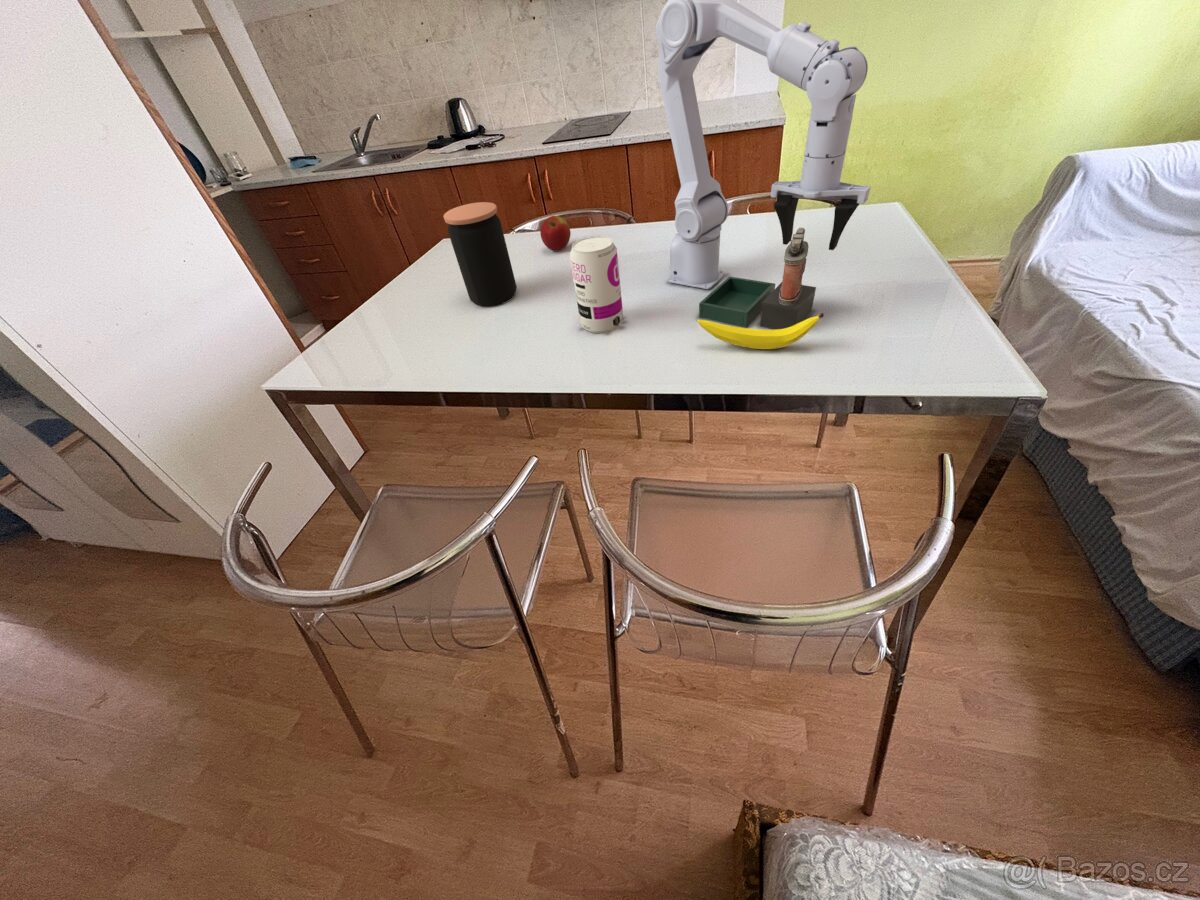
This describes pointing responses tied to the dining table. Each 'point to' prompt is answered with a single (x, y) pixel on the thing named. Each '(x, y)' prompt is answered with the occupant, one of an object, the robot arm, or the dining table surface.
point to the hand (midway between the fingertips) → (809, 245)
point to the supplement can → (597, 283)
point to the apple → (555, 233)
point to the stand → (786, 309)
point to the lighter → (793, 269)
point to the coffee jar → (481, 253)
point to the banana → (759, 334)
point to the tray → (735, 301)
